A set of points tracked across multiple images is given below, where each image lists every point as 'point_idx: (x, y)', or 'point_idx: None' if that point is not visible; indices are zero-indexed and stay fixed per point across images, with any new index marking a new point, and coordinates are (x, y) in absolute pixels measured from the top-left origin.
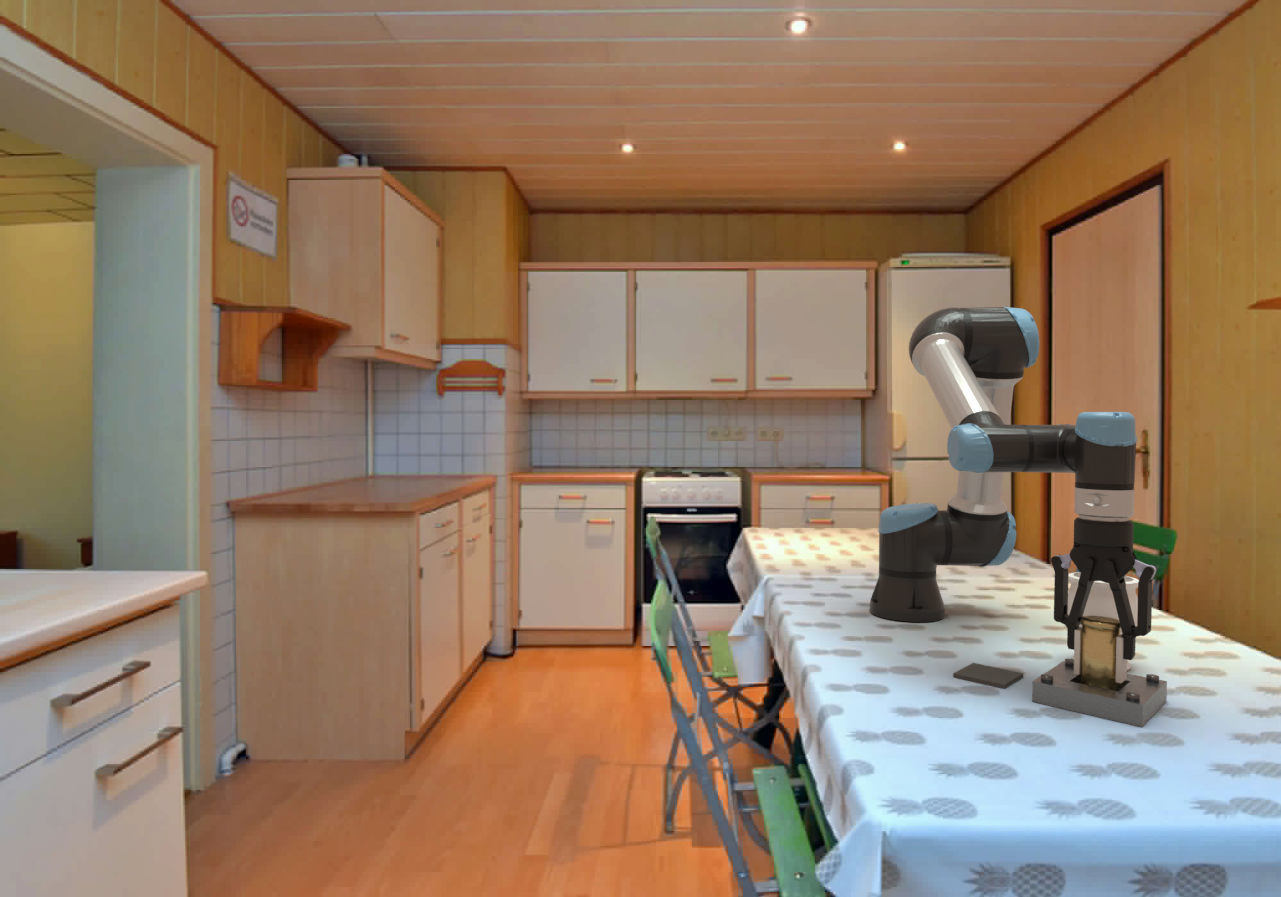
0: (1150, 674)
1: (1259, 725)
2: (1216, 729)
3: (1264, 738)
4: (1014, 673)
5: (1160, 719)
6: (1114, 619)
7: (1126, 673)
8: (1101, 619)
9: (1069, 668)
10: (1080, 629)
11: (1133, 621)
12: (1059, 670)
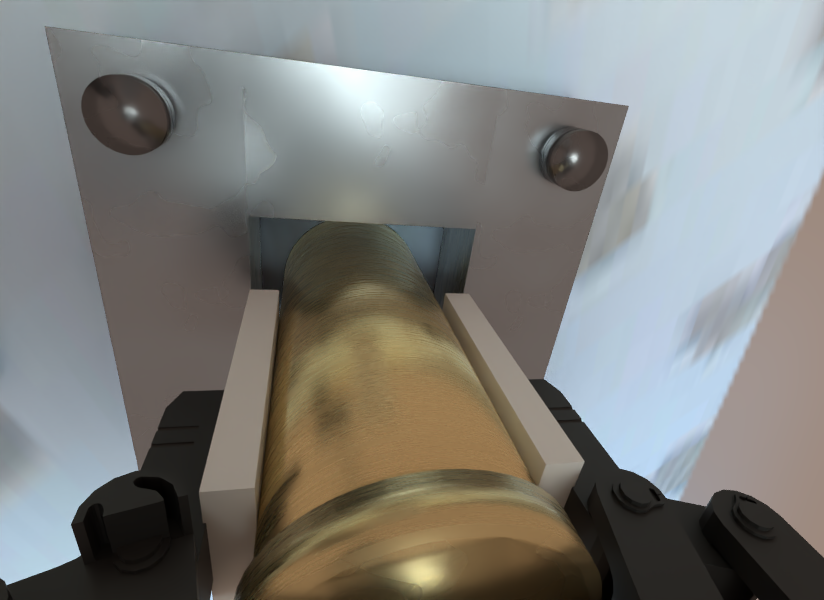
0: (573, 141)
1: (797, 180)
2: (665, 303)
3: (760, 292)
4: None
5: None
6: (544, 568)
7: (477, 308)
8: None
9: (167, 200)
10: (242, 562)
11: (705, 594)
12: (145, 277)
